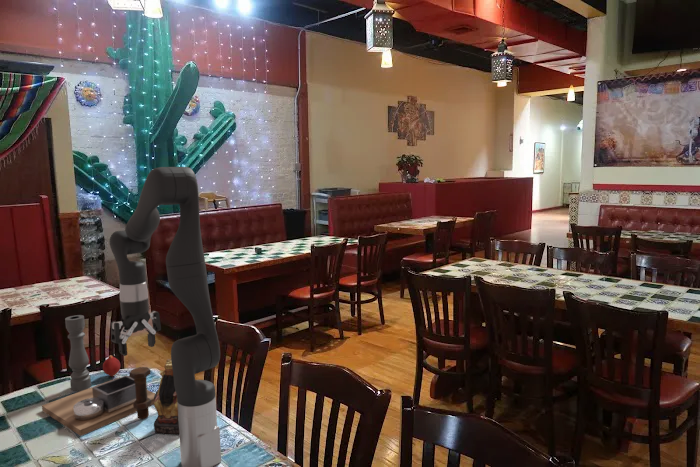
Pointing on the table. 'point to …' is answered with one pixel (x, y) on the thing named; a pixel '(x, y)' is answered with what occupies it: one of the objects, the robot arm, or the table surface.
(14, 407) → the table surface
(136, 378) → the bolt
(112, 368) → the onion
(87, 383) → the candle holder
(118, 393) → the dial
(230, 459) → the table surface
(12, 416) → the table surface
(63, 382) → the table surface
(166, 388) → the statue
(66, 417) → the wooden cutting board
